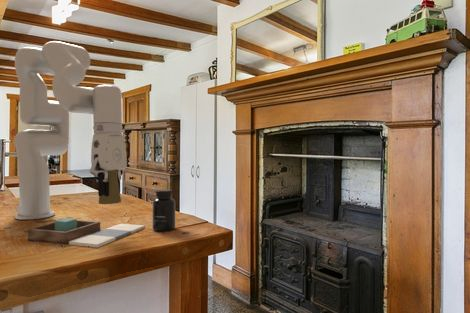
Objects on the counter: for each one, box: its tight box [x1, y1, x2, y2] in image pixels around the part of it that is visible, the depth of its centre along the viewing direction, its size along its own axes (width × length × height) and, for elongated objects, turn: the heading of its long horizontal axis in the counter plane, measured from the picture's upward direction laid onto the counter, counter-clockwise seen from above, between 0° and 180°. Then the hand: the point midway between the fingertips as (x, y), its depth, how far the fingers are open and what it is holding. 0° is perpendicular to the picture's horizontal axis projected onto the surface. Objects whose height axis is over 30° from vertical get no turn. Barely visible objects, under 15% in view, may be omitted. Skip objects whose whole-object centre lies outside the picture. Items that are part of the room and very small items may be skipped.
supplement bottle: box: [152, 188, 176, 233], centre depth 104 cm, size 7×7×12 cm
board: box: [68, 223, 146, 249], centre depth 97 cm, size 9×21×1 cm, turn 161°
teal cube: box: [54, 217, 78, 232], centre depth 97 cm, size 4×4×4 cm
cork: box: [98, 168, 122, 205], centre depth 97 cm, size 6×6×11 cm
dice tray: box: [27, 219, 101, 245], centre depth 97 cm, size 13×13×3 cm
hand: (109, 194), depth 97 cm, fingers closed on cork, 4 cm apart
